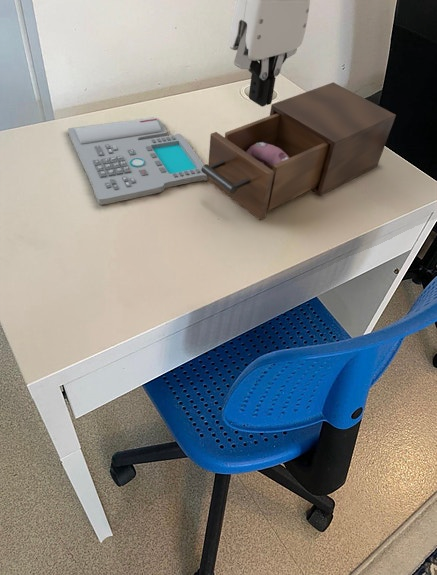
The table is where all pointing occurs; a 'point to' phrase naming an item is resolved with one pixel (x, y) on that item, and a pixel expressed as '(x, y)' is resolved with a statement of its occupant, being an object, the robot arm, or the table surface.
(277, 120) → the drawer
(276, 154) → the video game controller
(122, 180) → the office telephone
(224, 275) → the table surface
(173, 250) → the table surface
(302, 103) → the cabinet
